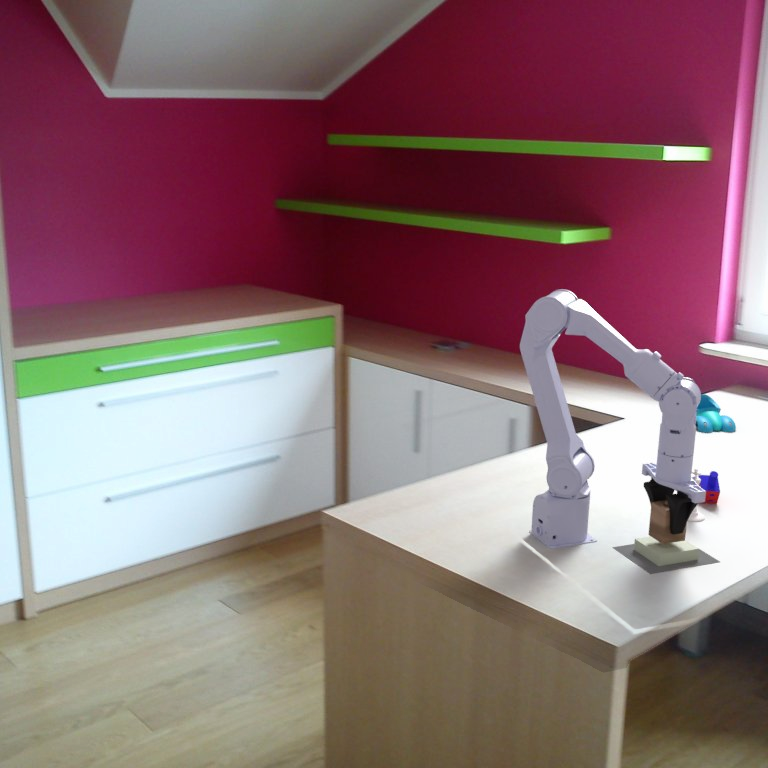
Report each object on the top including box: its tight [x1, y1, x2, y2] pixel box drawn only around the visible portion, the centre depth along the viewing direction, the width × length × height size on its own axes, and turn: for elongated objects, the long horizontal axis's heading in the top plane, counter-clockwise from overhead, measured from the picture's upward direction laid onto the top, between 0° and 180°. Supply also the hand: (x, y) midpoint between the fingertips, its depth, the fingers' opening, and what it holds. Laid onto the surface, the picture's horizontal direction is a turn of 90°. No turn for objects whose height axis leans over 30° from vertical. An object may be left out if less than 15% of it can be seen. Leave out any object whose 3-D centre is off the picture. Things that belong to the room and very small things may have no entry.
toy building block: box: [697, 470, 721, 505], centre depth 194 cm, size 4×4×8 cm
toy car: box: [695, 393, 737, 434], centre depth 246 cm, size 11×18×7 cm, turn 6°
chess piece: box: [687, 468, 706, 523], centre depth 184 cm, size 5×5×10 cm
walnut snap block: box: [648, 500, 688, 544], centre depth 167 cm, size 4×4×6 cm
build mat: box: [612, 543, 721, 575], centre depth 169 cm, size 14×11×1 cm
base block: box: [633, 535, 700, 566], centre depth 169 cm, size 8×7×2 cm
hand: (668, 527), depth 168 cm, fingers open, 4 cm apart
